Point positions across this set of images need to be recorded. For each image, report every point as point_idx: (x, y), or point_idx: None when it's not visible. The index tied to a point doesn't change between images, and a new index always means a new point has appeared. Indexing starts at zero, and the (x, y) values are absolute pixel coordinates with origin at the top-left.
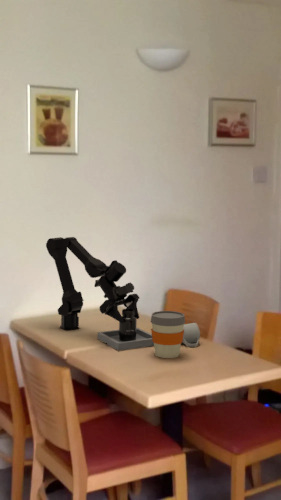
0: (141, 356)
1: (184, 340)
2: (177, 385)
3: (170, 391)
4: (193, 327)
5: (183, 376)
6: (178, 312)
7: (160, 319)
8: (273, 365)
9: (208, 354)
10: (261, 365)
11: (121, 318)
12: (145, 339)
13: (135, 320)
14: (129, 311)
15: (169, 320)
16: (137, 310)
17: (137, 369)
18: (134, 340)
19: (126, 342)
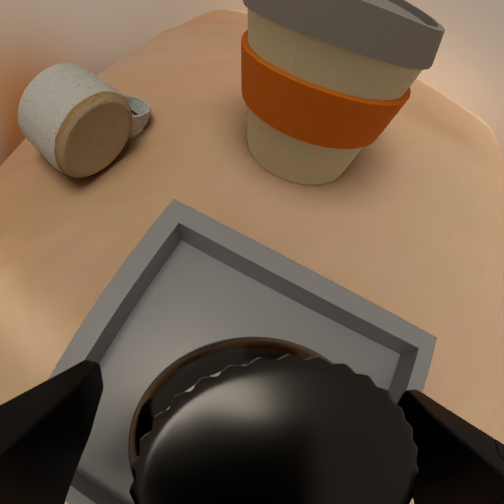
0: (393, 214)
1: (138, 116)
2: (439, 97)
3: (460, 105)
4: (82, 69)
5: None
6: None
7: (426, 21)
8: (214, 11)
9: (207, 68)
10: (226, 17)
11: (449, 411)
12: (263, 252)
13: (245, 337)
14: (382, 388)
15: (397, 4)
16: (5, 404)
17: (465, 178)
18: (332, 300)
19: (395, 315)
